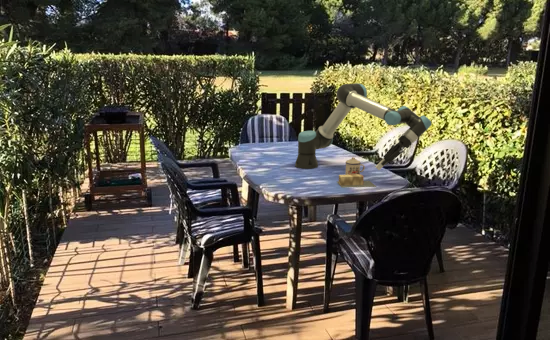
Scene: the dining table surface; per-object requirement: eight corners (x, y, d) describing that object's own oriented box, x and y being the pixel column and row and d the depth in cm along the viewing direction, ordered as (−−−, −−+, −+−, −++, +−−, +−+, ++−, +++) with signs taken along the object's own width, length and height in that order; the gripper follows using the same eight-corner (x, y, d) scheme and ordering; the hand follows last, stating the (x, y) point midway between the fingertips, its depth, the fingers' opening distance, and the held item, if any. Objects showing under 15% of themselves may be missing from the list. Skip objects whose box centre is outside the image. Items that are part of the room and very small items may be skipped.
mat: (369, 181, 258) (369, 180, 258) (376, 187, 246) (376, 186, 246) (336, 182, 256) (336, 181, 256) (341, 188, 244) (341, 187, 244)
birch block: (361, 174, 253) (338, 174, 251) (363, 176, 248) (341, 177, 246) (360, 182, 254) (338, 183, 252) (363, 185, 249) (340, 185, 248)
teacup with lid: (347, 178, 266) (348, 159, 263) (343, 174, 275) (343, 156, 272) (366, 177, 268) (367, 158, 265) (361, 174, 276) (362, 155, 274)
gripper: (416, 145, 242) (385, 175, 244) (407, 141, 255) (377, 170, 257) (407, 136, 240) (376, 166, 243) (399, 132, 253) (369, 161, 255)
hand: (377, 168), depth 250 cm, fingers closed
